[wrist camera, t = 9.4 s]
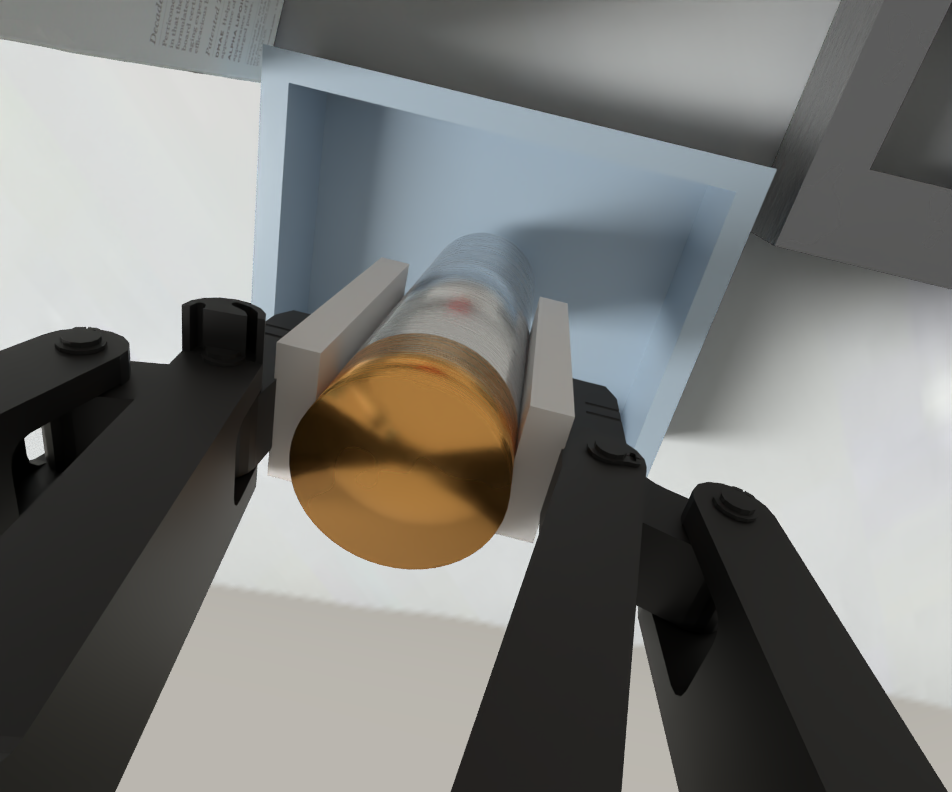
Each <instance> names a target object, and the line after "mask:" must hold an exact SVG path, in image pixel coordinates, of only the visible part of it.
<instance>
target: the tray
mask: <svg viewBox="0 0 952 792" xmlns="http://www.w3.org/2000/svg"><path fill="white" fill-rule="evenodd" d="M776 170H777V169H775V168H771V167H766V166H762V165H758V164H754V163H750V162H746V161H742V160H738V159H734V158H729V157H725V156H721V155H717V154H713V153H709V152H705V151H701V150H697V149H693V148H688V147H684V146H680V145H676V144H672V143H668V142H664V141H660V140H656V139H651V138H647V137H643V136H639V135H635V134H631V133H627V132H623V131H619V130H614V129H610V128H606V127H602V126H598V125H594V124H590V123H586V122H582V121H578V120H573V119H569V118H565V117H561V116H557V115H553V114H549V113H545V112H541V111H536V110H532V109H528V108H524V107H520V106H516V105H512V104H508V103H504V102H500V101H495V100H491V99H487V98H483V97H479V96H475V95H471V94H467V93H463V92H458V91H454V90H450V89H446V88H442V87H438V86H434V85H430V84H426V83H422V82H417V81H413V80H409V79H405V78H401V77H397V76H393V75H389V74H385V73H380V72H376V71H372V70H368V69H364V68H360V67H356V66H352V65H348V64H343V63H339V62H335V61H331V60H327V59H323V58H319V57H315V56H311V55H307V54H302V53H298V52H294V51H290V50H286V49H282V48H278V47H274V46H270V45H265V44H263V53H262V76H261V98H260V120H259V143H258V165H257V188H256V210H255V233H254V255H253V278H252V300H251V304H253V305H255V306H257V307H259V308H261V309H262V310H263V311H264V312H265V313H266V321H267V320H268V319H269V318H271V317H272V316H274V315H276V314H280V313H284V312H288V311H292V310H295V311H299V312H303V313H307V314H312V313H313V312H315V311H316V310H317V309H318V308H319V307H321V306H322V305H323V304H324V303H326V302H327V301H328V300H329V299H331V298H332V297H333V296H334V295H336V294H337V293H338V292H339V291H340V290H342V289H343V288H344V287H345V286H347V285H348V284H349V283H350V282H352V281H353V280H354V279H355V278H357V277H358V276H359V275H360V274H362V273H363V272H364V271H365V270H366V269H368V268H369V267H370V266H371V265H373V264H374V263H375V262H376V261H378V260H379V259H380V258H381V257H383V258H387V259H391V260H395V261H399V262H403V263H407V264H409V269H408V275H407V281H406V287H405V293H404V295H405V294H406V293H407V292H408V291H409V289H410V288H411V287H412V286H413V285H414V284H415V282H416V281H417V280H418V279H419V278H420V276H421V275H422V274H423V273H424V272H425V270H426V269H427V268H428V267H429V266H430V265H431V263H432V262H433V261H434V260H435V259H436V257H437V256H438V255H439V254H440V253H441V252H442V250H443V249H444V248H445V247H446V246H447V245H448V244H450V243H451V242H452V241H454V240H456V239H458V238H459V237H462V236H465V235H468V234H472V233H490V234H495V235H498V236H501V237H503V238H505V239H507V240H509V241H510V242H512V243H514V244H515V245H516V246H517V247H518V248H519V249H520V250H521V251H522V252H523V253H524V255H525V256H526V258H527V259H528V261H529V263H530V265H531V268H532V270H533V274H534V280H535V292H534V301H533V309H532V317H531V326H530V331H531V327H532V323H533V320H534V316H535V312H536V309H537V305H538V301H539V298H540V297H544V298H548V299H552V300H556V301H560V302H564V303H568V317H569V332H570V348H571V364H572V378H574V379H578V380H582V381H586V382H590V383H594V384H598V385H602V386H606V387H607V389H608V390H609V391H610V392H611V393H612V394H613V395H614V396H615V397H616V398H617V402H618V407H619V412H620V416H621V422H622V425H623V430H624V435H625V439H626V444H628V445H629V446H631V447H632V448H634V449H635V450H637V451H638V452H639V454H640V455H641V456H642V457H643V458H644V459H645V463H646V466H647V472H646V478H647V476H648V474H649V471H650V469H651V466H652V464H653V462H654V459H655V457H656V455H657V452H658V450H659V448H660V445H661V443H662V440H663V438H664V436H665V433H666V431H667V429H668V426H669V424H670V421H671V419H672V417H673V414H674V412H675V410H676V407H677V405H678V403H679V400H680V398H681V395H682V393H683V391H684V388H685V386H686V384H687V381H688V379H689V376H690V374H691V372H692V369H693V367H694V365H695V362H696V360H697V358H698V355H699V353H700V350H701V348H702V346H703V343H704V341H705V339H706V336H707V334H708V331H709V329H710V327H711V324H712V322H713V320H714V317H715V315H716V313H717V310H718V308H719V305H720V303H721V301H722V298H723V296H724V294H725V291H726V289H727V286H728V284H729V282H730V279H731V277H732V275H733V272H734V270H735V267H736V265H737V263H738V260H739V258H740V256H741V253H742V251H743V249H744V246H745V244H746V241H747V239H748V237H749V234H750V232H751V230H752V227H753V225H754V222H755V220H756V218H757V215H758V213H759V211H760V208H761V206H762V204H763V201H764V199H765V196H766V194H767V192H768V189H769V187H770V185H771V182H772V180H773V177H774V175H775V173H776Z"/></svg>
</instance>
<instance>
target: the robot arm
mask: <svg viewBox="0 0 952 792" xmlns="http://www.w3.org/2000/svg"><path fill="white" fill-rule="evenodd" d="M408 269H409V264H407V263H403V262H399V261H395V260H391V259H387V258H383V257H381V258H380V259H379V260H378V261H376V262H375V263H374V264H373V265H371V266H370V267H369V268H368V269H366V270H365V271H364V272H363V273H362V274H360V275H359V276H358V277H357V278H355V279H354V280H353V281H352V282H350V283H349V284H348V285H347V286H345V287H344V288H343V289H342V290H340V291H339V292H338V293H337V294H336V295H334V296H333V297H332V298H331V299H329V300H328V301H327V302H326V303H324V304H323V305H322V306H321V307H319V308H318V309H317V310H316V311H315V312H313V313H312V314H307V313H303V312H299V311H295V310H292V311H288V312H284V313H280V314H276V315H274V316H272V317H271V318H269V319H268V320H267V321H266V313H265V312H264V311H263V310H262V309H261V308H259V307H257V306H255V305H253V304H251V303H248V302H244V301H240V300H236V299H227V298H202V299H196V300H191V301H189V302H187V303H185V304H183V305H182V352H181V353H180V354H179V355H178V356H177V357H176V358H175V359H174V360H173V361H172V362H171V363H170V364H157V363H146V362H135V361H130V348H129V342H128V341H127V340H126V339H125V338H124V337H123V336H120V335H118V334H115V333H113V332H109V331H104V330H100V329H98V328H91V327H88V329H86V327H75V328H73V329H67V330H59V331H55V332H51V333H47V334H44V335H41V336H38V337H36V338H33V339H30V340H28V341H25V342H23V343H20V344H17V345H15V346H12V347H9V348H7V349H4V350H1V351H0V792H115V791H116V789H117V787H118V784H119V782H120V780H121V778H122V776H123V774H124V772H125V769H126V767H127V765H128V763H129V761H130V759H131V756H132V754H133V752H134V750H135V748H136V746H137V743H138V741H139V739H140V737H141V735H142V733H143V730H144V728H145V726H146V724H147V722H148V719H149V717H150V715H151V713H152V711H153V709H154V707H155V704H156V702H157V700H158V698H159V696H160V693H161V691H162V689H163V687H164V685H165V683H166V681H167V678H168V676H169V674H170V672H171V670H172V667H173V665H174V663H175V661H176V659H177V656H178V654H179V652H180V650H181V648H182V646H183V644H184V641H185V639H186V637H187V635H188V633H189V631H190V628H191V626H192V624H193V622H194V620H195V618H196V615H197V613H198V611H199V609H200V607H201V605H202V602H203V600H204V598H205V596H206V593H207V592H208V589H209V587H210V585H211V583H212V581H213V579H214V576H215V574H216V572H217V570H218V568H219V565H220V563H221V561H222V559H223V557H224V555H225V552H226V550H227V548H228V546H229V544H230V542H231V539H232V537H233V535H234V533H235V531H236V529H237V526H238V524H239V522H240V520H241V518H242V516H243V513H244V511H245V509H246V507H247V505H248V503H249V500H250V498H251V496H252V494H253V492H254V490H255V487H256V480H257V464H258V463H259V462H260V461H261V460H262V459H263V457H264V456H265V455H266V454H267V453H268V452H269V462H268V476H271V477H275V478H279V479H283V480H287V481H291V476H290V468H289V453H290V447H291V441H292V438H293V435H294V432H295V430H296V428H297V426H298V424H299V422H300V420H301V419H302V417H303V416H304V415H305V413H306V412H307V411H308V409H309V408H310V407H311V406H312V405H313V403H314V402H315V401H316V400H317V399H318V397H319V396H320V395H321V394H322V393H323V392H324V390H325V389H326V388H327V387H328V386H329V384H330V383H331V382H332V381H333V380H334V378H335V377H336V376H337V375H338V374H339V373H340V371H341V370H342V369H343V368H344V367H345V365H346V364H347V363H348V362H349V361H350V360H351V358H352V357H353V356H354V355H355V354H356V352H357V351H358V350H359V349H360V348H361V346H362V345H363V344H364V343H365V342H366V341H367V339H368V338H369V337H370V336H371V335H372V333H373V332H374V331H375V330H376V329H377V327H378V326H379V325H380V324H381V323H382V322H383V320H384V319H385V318H386V317H387V316H388V314H389V313H390V312H391V311H392V310H393V308H394V307H395V306H396V305H397V304H398V303H399V301H400V300H401V299H402V298H403V297H404V293H405V287H406V281H407V275H408ZM40 427H41V428H42V435H43V442H44V450H45V453H44V454H43V455H41V456H39V457H38V458H36V459H33V460H30V461H29V459H28V457H27V454H26V447H25V441H24V438H25V437H26V436H27V435H28V434H30V433H31V432H33V431H35V430H37V429H38V428H40ZM646 472H647V466H646V463H645V459H644V458H643V457H642V456H641V455H640V454H639V452H638V451H637V450H635V449H634V448H632V447H631V446H629V445H628V444H626V439H625V435H624V430H623V425H622V422H621V416H620V412H619V407H618V402H617V398H616V397H615V396H614V395H613V394H612V393H611V392H610V391H609V390H608V389H607V387H606V386H602V385H598V384H594V383H590V382H586V381H582V380H578V379H574V378H572V364H571V348H570V332H569V317H568V303H564V302H560V301H556V300H552V299H548V298H544V297H540V298H539V301H538V305H537V309H536V312H535V316H534V320H533V323H532V327H531V331H530V334H529V341H528V349H527V358H526V366H525V374H524V383H523V391H522V399H521V407H520V416H519V424H518V432H517V441H516V449H515V457H514V468H513V476H512V485H511V493H510V500H509V504H508V509H507V512H506V514H505V517H504V519H503V522H502V523H501V525H500V527H499V528H498V530H497V532H496V533H495V534H499V535H503V536H507V537H511V538H515V539H518V540H522V541H526V542H530V543H533V541H534V538H535V535H536V532H537V529H538V526H539V536H538V539H537V542H536V544H535V547H534V550H533V553H532V556H531V559H530V562H529V565H528V568H527V571H526V574H525V577H524V579H523V582H522V585H521V588H520V591H519V594H518V597H517V600H516V603H515V606H514V609H513V612H512V614H511V617H510V620H509V623H508V626H507V629H506V632H505V635H504V638H503V641H502V644H501V647H500V650H499V652H498V656H497V659H496V661H495V664H494V667H493V670H492V673H491V676H490V679H489V682H488V685H487V687H486V690H485V693H484V696H483V699H482V702H481V705H480V708H479V711H478V714H477V717H476V720H475V722H474V726H473V728H472V731H471V734H470V737H469V740H468V743H467V746H466V749H465V752H464V755H463V758H462V760H461V764H460V766H459V769H458V772H457V775H456V778H455V781H454V784H453V787H452V790H451V792H621V789H622V777H623V764H624V750H625V739H626V725H627V713H628V700H629V688H630V675H631V662H632V650H633V637H634V624H635V612H636V605H637V606H638V619H639V624H640V628H641V632H642V636H643V641H644V645H645V649H646V653H647V658H648V661H649V666H650V670H651V675H652V679H653V683H654V687H655V691H656V696H657V700H658V704H659V709H660V713H661V717H662V721H663V726H664V730H665V734H666V739H667V743H668V747H669V751H670V755H671V759H672V764H673V768H674V773H675V777H676V781H677V785H678V789H679V792H947V790H946V788H945V787H944V785H943V784H942V782H941V780H940V779H939V777H938V776H937V774H936V773H935V771H934V769H933V768H932V766H931V764H930V763H929V761H928V760H927V758H926V756H925V755H924V753H923V752H922V750H921V749H920V747H919V746H918V744H917V742H916V741H915V739H914V737H913V736H912V734H911V733H910V731H909V729H908V728H907V726H906V725H905V723H904V721H903V720H902V718H901V717H900V715H899V713H898V712H897V710H896V709H895V707H894V706H893V704H892V702H891V701H890V699H889V698H888V696H887V694H886V693H885V691H884V690H883V688H882V686H881V685H880V683H879V682H878V680H877V678H876V677H875V675H874V674H873V672H872V670H871V669H870V667H869V666H868V664H867V663H866V661H865V659H864V658H863V656H862V655H861V653H860V651H859V650H858V648H857V647H856V645H855V643H854V642H853V640H852V639H851V637H850V635H849V634H848V632H847V631H846V629H845V627H844V626H843V624H842V623H841V621H840V619H839V618H838V616H837V615H836V613H835V612H834V610H833V608H832V607H831V605H830V604H829V602H828V600H827V599H826V597H825V596H824V594H823V592H822V591H821V589H820V588H819V586H818V584H817V583H816V581H815V580H814V578H813V576H812V575H811V573H810V572H809V570H808V569H807V567H806V565H805V564H804V562H803V561H802V559H801V557H800V556H799V554H798V553H797V551H796V549H795V548H794V546H793V545H792V543H791V541H790V540H789V538H788V537H787V535H786V533H785V532H784V530H783V529H782V527H781V526H780V524H779V522H778V521H777V519H776V518H775V516H774V515H773V514H772V513H771V512H770V510H769V509H768V508H767V507H766V506H765V505H764V504H762V503H761V502H760V501H758V500H757V499H755V497H754V496H753V495H751V494H749V493H748V492H746V491H745V492H743V490H742V489H739V488H737V487H734V486H732V487H731V486H728V485H725V484H721V483H712V482H706V483H701V484H698V485H697V486H696V487H695V488H694V489H693V491H692V493H691V495H690V498H689V499H688V498H686V497H683V496H681V495H679V494H676V493H674V492H672V491H670V490H667V489H665V488H663V487H661V486H659V485H657V484H655V483H654V482H652V481H651V480H649V479H648V478H646ZM291 482H292V481H291Z"/></svg>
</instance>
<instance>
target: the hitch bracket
mask: <svg viewBox="0 0 952 792" xmlns="http://www.w3.org/2000/svg"><path fill="white" fill-rule="evenodd" d="M951 3H952V0H841V3H840V5H839V7H838V10H837V12H836V15H835V17H834V19H833V22H832V24H831V26H830V29H829V31H828V34H827V36H826V38H825V41H824V43H823V46H822V48H821V50H820V53H819V55H818V58H817V60H816V62H815V65H814V67H813V70H812V72H811V74H810V77H809V79H808V82H807V84H806V86H805V89H804V91H803V94H802V96H801V98H800V101H799V103H798V105H797V108H796V110H795V113H794V115H793V117H792V120H791V122H790V125H789V127H788V129H787V132H786V134H785V137H784V139H783V141H782V144H781V146H780V149H779V151H778V153H777V156H776V158H775V161H774V163H773V165H772V168H775V169H777V170H776V173H775V175H774V177H773V180H772V182H771V185H770V187H769V189H768V192H767V194H766V196H765V199H764V201H763V204H762V206H761V208H760V211H759V213H758V215H757V218H756V220H755V222H754V225H753V227H752V230H751V232H752V233H754V234H755V235H757V236H759V237H761V238H762V239H764V240H766V241H767V242H769V243H771V244H772V245H774V246H777V247H781V248H785V249H789V250H793V251H797V252H802V253H806V254H810V255H814V256H818V257H822V258H826V259H830V260H834V261H838V262H842V263H846V264H850V265H855V266H859V267H863V268H867V269H871V270H875V271H879V272H883V273H887V274H891V275H895V276H899V277H903V278H908V279H912V280H916V281H920V282H924V283H928V284H932V285H936V286H940V287H944V288H948V289H952V189H948V188H944V187H940V186H936V185H932V184H927V183H923V182H919V181H915V180H911V179H907V178H903V177H899V176H895V175H890V174H886V173H882V172H878V171H874V170H870V168H871V166H872V164H873V162H874V160H875V158H876V156H877V154H878V152H879V150H880V148H881V145H882V143H883V141H884V139H885V137H886V135H887V133H888V131H889V129H890V127H891V125H892V123H893V121H894V119H895V117H896V115H897V113H898V111H899V109H900V107H901V105H902V103H903V101H904V98H905V96H906V94H907V92H908V90H909V88H910V86H911V84H912V82H913V80H914V78H915V76H916V74H917V72H918V70H919V68H920V66H921V64H922V62H923V60H924V58H925V56H926V54H927V52H928V49H929V47H930V45H931V43H932V41H933V39H934V37H935V35H936V33H937V31H938V29H939V27H940V25H941V23H942V21H943V19H944V17H945V15H946V13H947V11H948V9H949V7H950V5H951Z"/></svg>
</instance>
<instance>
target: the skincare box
mask: <svg viewBox="0 0 952 792" xmlns="http://www.w3.org/2000/svg"><path fill="white" fill-rule="evenodd" d="M283 3H284V0H0V39H4V40H10V41H16V42H21V43H26V44H32V45H37V46H42V47H47V48H52V49H57V50H61V51H66V52H71V53H76V54H82V55H88V56H94V57H101V58H107V59H113V60H118V61H124V62H132V63H139V64H145V65H150V66H156V67H162V68H169V69H175V70H182V71H189V72H194V73H201V74H208V75H214V76H220V77H226V78H231V79H237V80H244V81H252V82H259V83H261V76H262V53H263V44H265V45H270V46H274V42H275V37H276V33H277V28H278V24H279V20H280V16H281V11H282V7H283Z"/></svg>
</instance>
